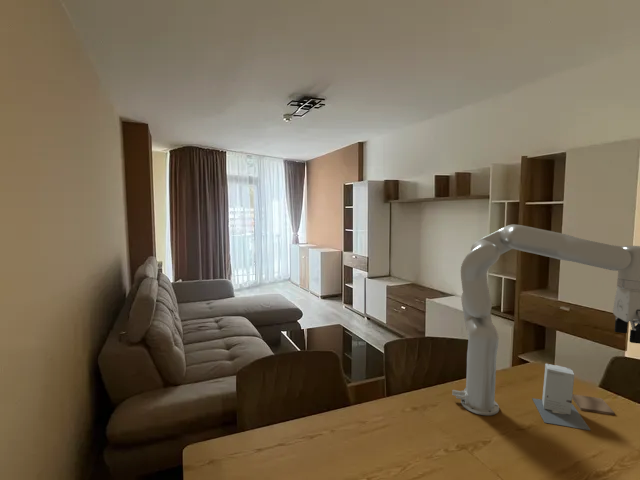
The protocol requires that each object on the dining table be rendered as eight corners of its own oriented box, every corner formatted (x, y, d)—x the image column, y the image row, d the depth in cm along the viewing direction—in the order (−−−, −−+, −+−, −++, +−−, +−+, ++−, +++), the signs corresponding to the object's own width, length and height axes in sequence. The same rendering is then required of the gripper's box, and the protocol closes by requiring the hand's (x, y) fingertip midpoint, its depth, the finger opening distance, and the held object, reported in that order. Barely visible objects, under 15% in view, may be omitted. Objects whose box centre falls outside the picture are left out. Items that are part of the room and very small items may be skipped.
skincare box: (543, 409, 124) (545, 368, 123) (541, 401, 130) (544, 362, 129) (572, 415, 121) (574, 374, 119) (569, 407, 126) (571, 367, 125)
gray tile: (544, 422, 117) (544, 422, 117) (532, 398, 132) (532, 398, 132) (590, 430, 113) (590, 429, 113) (572, 404, 128) (572, 404, 128)
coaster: (580, 409, 125) (580, 407, 124) (570, 395, 134) (570, 393, 134) (614, 415, 121) (614, 413, 121) (601, 400, 131) (601, 398, 131)
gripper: (606, 279, 120) (602, 327, 121) (632, 289, 103) (627, 345, 105) (633, 280, 117) (628, 330, 119) (664, 291, 101) (658, 349, 102)
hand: (628, 337), depth 112 cm, fingers open, 9 cm apart
